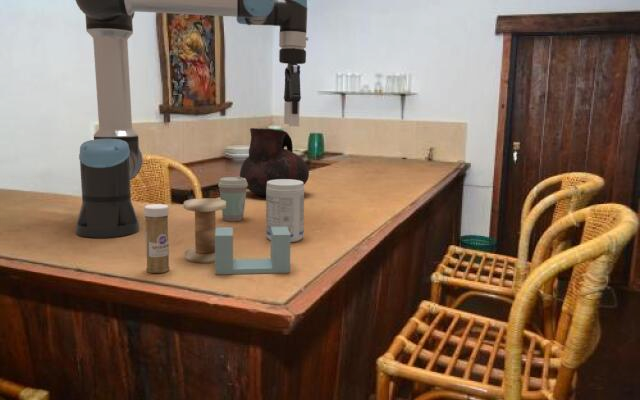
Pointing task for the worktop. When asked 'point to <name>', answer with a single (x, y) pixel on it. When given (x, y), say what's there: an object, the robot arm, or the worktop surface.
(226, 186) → the coffee cup
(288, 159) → the jug
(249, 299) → the worktop surface
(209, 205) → the bobbin
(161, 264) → the sprinkles bottle
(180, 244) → the worktop surface
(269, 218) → the supplement tub
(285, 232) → the blue-grey u-shaped block
